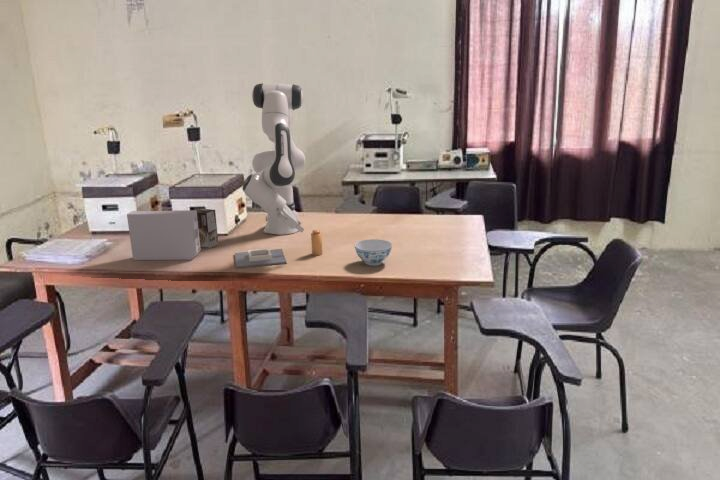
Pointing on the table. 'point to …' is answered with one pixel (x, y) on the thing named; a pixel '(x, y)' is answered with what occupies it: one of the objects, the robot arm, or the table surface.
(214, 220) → the coffee box
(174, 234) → the game console
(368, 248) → the chinaware
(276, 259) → the holder
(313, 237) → the orange cylinder
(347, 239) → the table surface
